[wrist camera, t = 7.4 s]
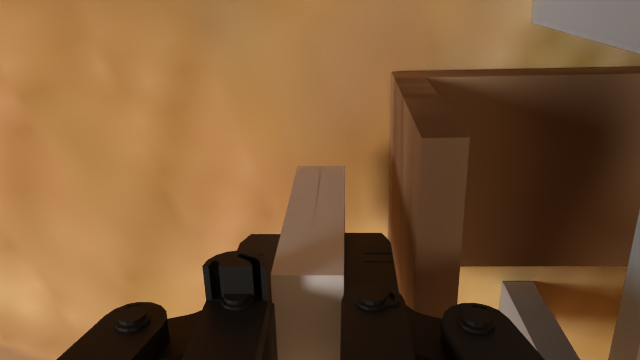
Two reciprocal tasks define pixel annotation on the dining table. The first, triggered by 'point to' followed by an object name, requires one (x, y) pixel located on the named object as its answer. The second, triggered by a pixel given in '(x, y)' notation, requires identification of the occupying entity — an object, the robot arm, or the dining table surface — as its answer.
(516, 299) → the tunnel
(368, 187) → the dining table surface
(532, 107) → the sled
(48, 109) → the dining table surface
